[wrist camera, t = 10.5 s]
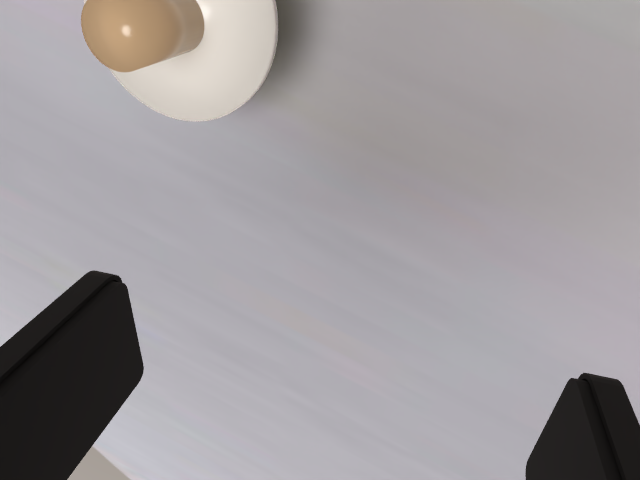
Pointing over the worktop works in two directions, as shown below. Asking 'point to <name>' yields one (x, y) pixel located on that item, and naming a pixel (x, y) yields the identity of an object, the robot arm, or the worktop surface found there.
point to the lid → (185, 51)
